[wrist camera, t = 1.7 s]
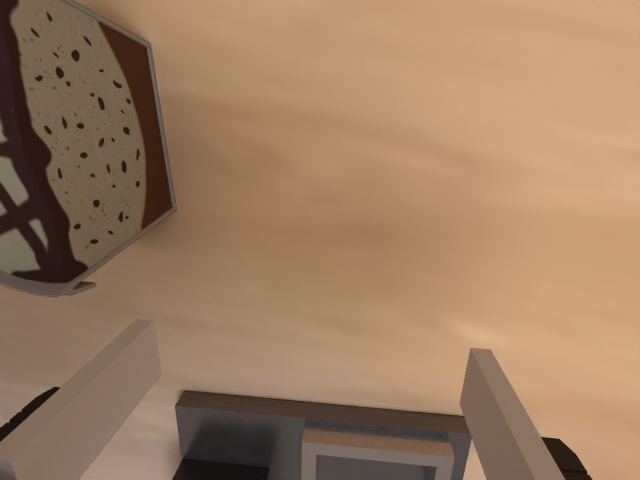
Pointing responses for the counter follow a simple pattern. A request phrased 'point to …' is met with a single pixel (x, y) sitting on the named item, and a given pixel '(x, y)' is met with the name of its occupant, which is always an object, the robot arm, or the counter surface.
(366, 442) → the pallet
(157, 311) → the counter surface
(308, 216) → the counter surface
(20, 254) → the food container
